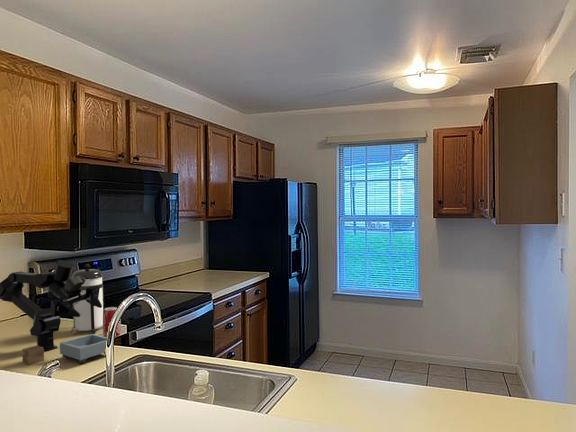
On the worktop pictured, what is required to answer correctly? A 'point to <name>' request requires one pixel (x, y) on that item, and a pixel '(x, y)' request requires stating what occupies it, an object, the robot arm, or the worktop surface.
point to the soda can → (106, 320)
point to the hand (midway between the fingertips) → (90, 311)
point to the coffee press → (88, 313)
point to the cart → (83, 347)
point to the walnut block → (33, 355)
